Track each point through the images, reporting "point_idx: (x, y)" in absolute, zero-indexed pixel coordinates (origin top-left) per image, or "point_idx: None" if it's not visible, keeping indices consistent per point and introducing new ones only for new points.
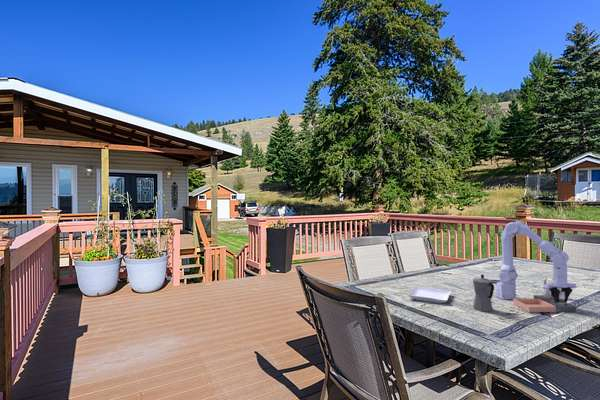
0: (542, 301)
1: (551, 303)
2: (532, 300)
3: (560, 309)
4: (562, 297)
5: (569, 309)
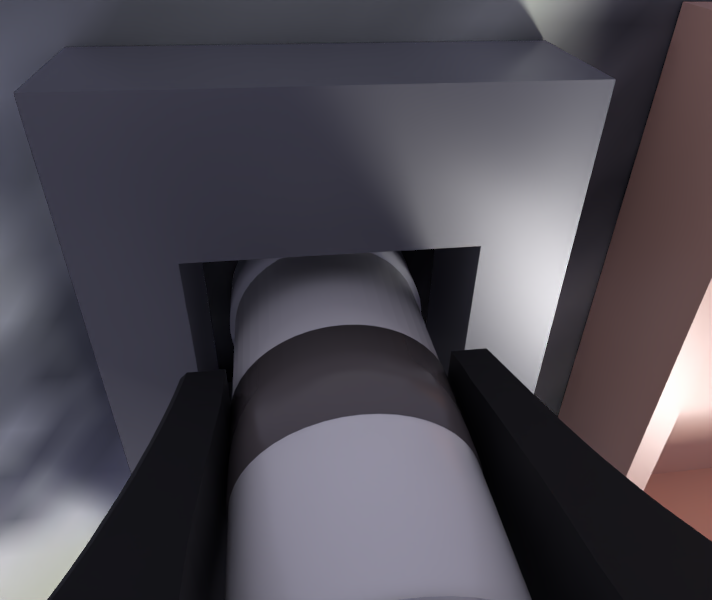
0: (646, 458)
1: (531, 382)
2: (688, 521)
3: (556, 58)
4: (394, 469)
5: (273, 62)
